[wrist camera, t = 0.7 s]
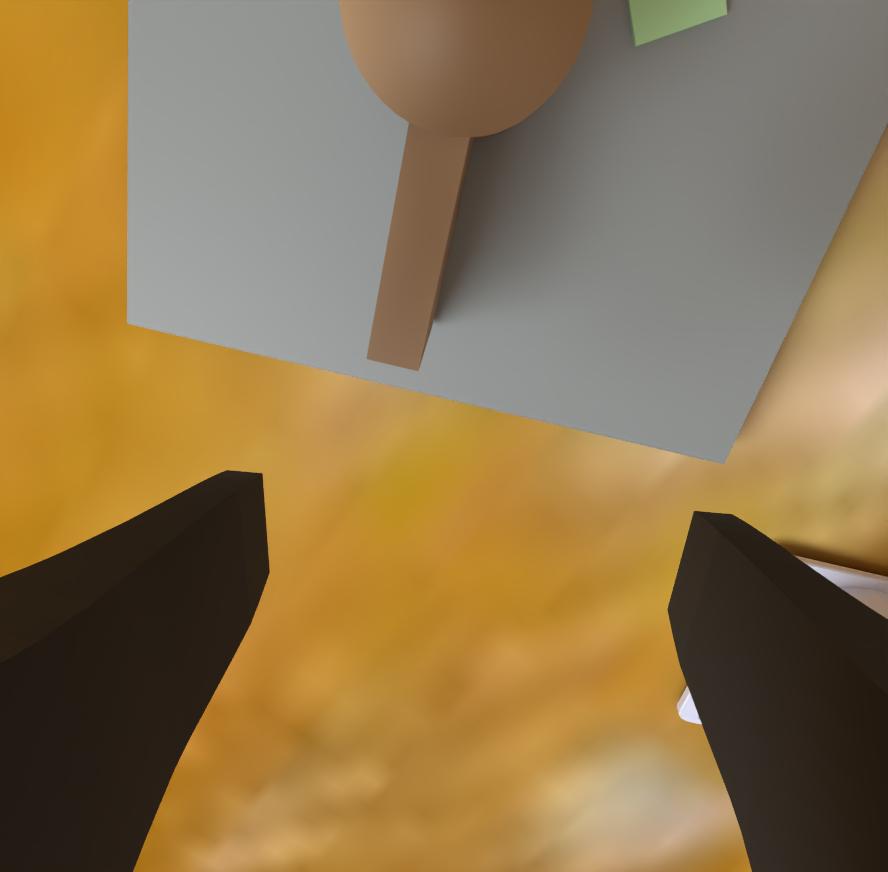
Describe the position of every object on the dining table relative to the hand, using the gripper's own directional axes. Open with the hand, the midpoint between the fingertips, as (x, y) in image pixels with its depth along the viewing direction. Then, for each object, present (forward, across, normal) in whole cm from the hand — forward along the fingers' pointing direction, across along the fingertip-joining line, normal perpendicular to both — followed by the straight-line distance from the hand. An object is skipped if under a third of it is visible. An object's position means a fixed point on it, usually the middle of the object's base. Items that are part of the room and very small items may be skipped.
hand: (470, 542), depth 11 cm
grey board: (+9, 0, -7) cm, 12 cm away
